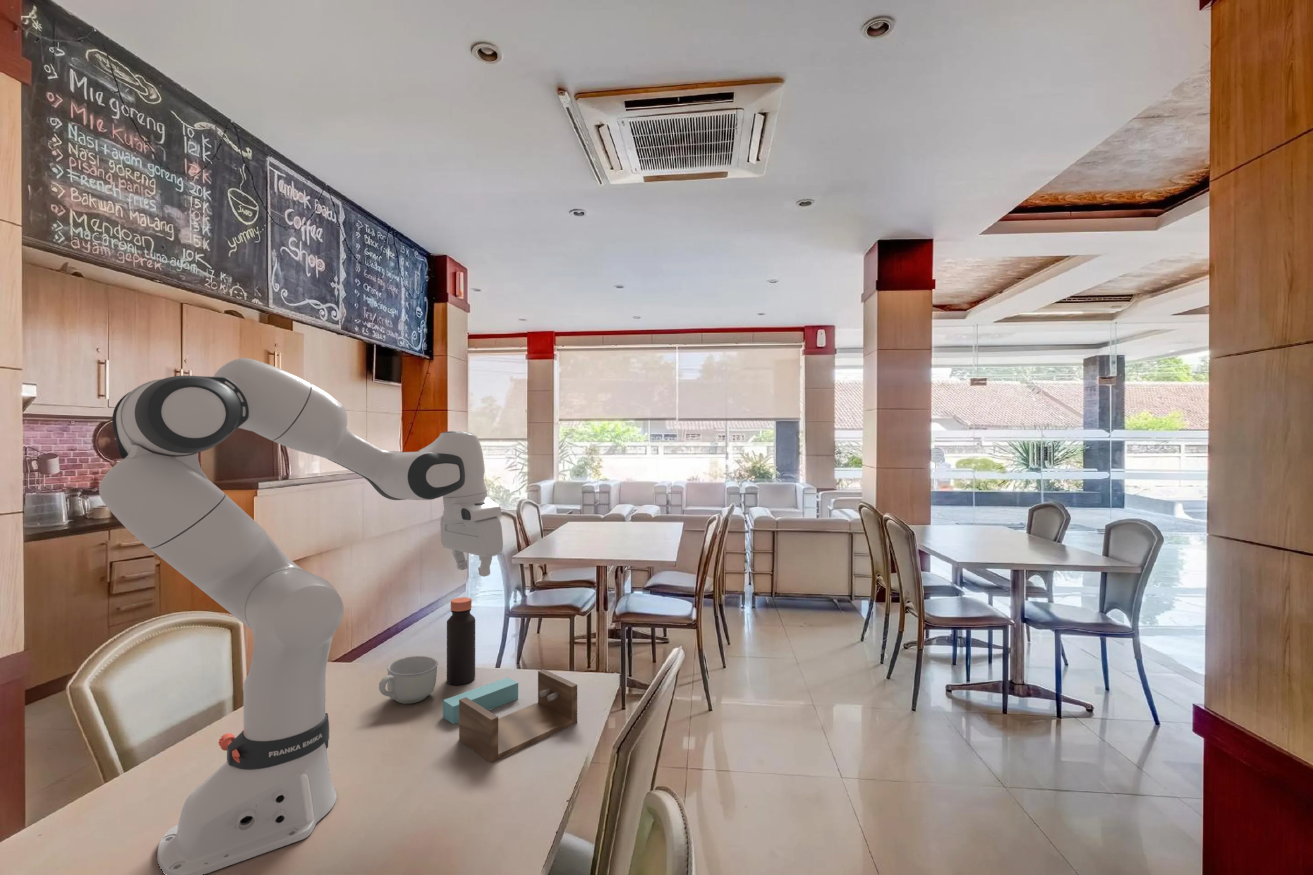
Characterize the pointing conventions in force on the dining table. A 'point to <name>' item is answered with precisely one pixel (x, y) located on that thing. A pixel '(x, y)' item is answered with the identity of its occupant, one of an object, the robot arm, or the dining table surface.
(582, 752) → the dining table surface
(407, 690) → the teacup
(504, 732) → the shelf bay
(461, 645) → the bottle
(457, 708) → the shelf board
